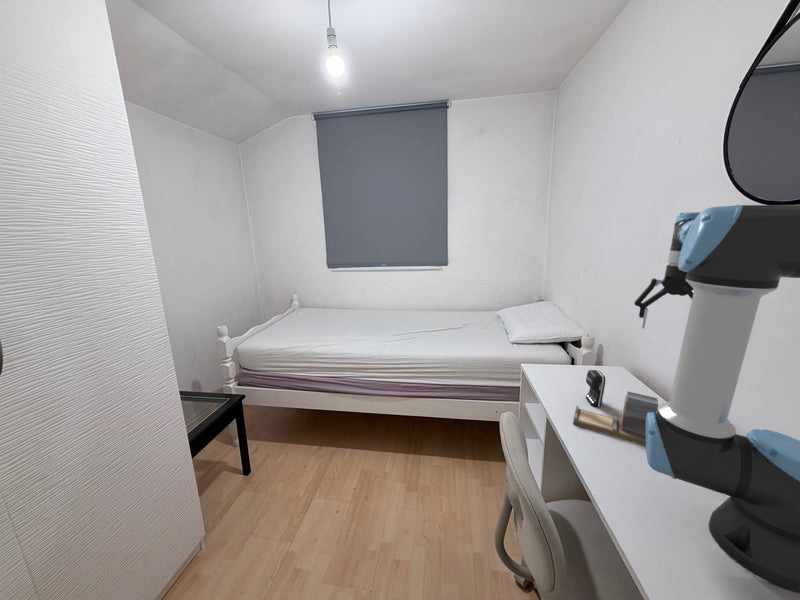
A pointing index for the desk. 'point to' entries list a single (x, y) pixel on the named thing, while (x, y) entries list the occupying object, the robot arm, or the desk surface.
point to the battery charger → (595, 387)
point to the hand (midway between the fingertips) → (668, 331)
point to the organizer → (630, 423)
